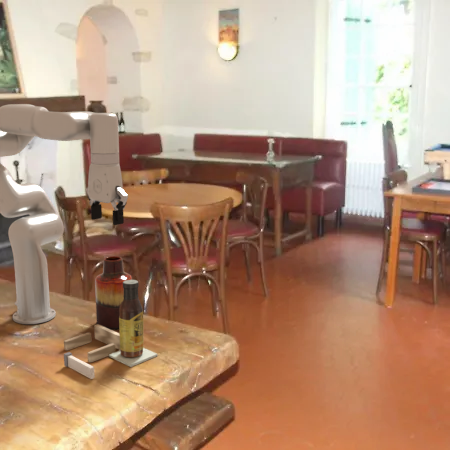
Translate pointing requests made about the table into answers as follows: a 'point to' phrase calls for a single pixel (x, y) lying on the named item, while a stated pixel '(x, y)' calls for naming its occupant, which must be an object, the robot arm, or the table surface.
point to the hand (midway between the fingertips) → (107, 221)
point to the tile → (135, 360)
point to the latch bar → (78, 365)
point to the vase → (110, 292)
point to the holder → (101, 335)
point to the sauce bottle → (131, 321)
